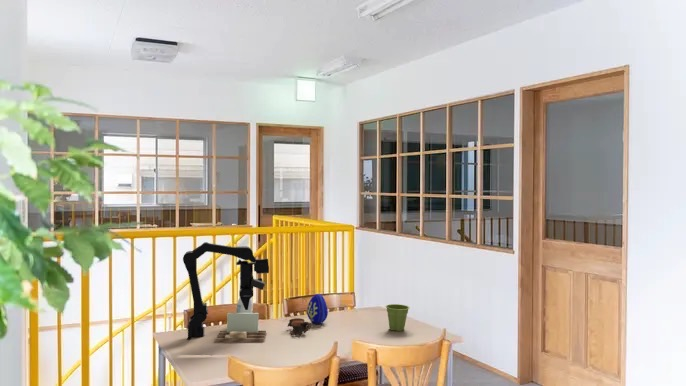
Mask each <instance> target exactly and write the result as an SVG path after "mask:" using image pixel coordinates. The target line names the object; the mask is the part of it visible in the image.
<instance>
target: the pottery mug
mask: <svg viewBox="0 0 686 386" xmlns="http://www.w3.org/2000/svg"><path fill="white" fill-rule="evenodd" d="M288 321H289V322H288V323H287V327H290V328H292V330H289V334H290V336H303V333H304V334H306V333H307V332H308V331H309V330H310V328H311V323H310V322H308V321H305V319H304V318H299V317H298V318H297V317H296V318H291V319H289V320H288Z"/></svg>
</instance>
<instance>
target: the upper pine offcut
mask: <svg viewBox="0 0 686 386" xmlns="http://www.w3.org/2000/svg"><path fill="white" fill-rule="evenodd" d="M246 334H247V331H231V332H230V337H246Z"/></svg>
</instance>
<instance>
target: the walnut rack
mask: <svg viewBox="0 0 686 386" xmlns="http://www.w3.org/2000/svg"><path fill="white" fill-rule="evenodd" d="M226 335H230V332H227V330H219V332H218V334H217V335H216V337H215V338H214V339H215V340H214V342H213V343H265V342H266V340H267V335H268V332H267V330H258V332H247V334H246V335H247V337H246V338H225V336H226Z"/></svg>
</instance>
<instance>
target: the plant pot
mask: <svg viewBox="0 0 686 386" xmlns="http://www.w3.org/2000/svg"><path fill="white" fill-rule="evenodd" d="M385 308H386V312H387V317H388V328H389V330H391V331H397V332H400V331H404V330H405V326H406V321H407V317H408V313H409V309H410V306H408V305H405V304H399V303H398V304H396V303H395V304H394V303H393V304H392V303H391V304H386V305H385Z"/></svg>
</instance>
